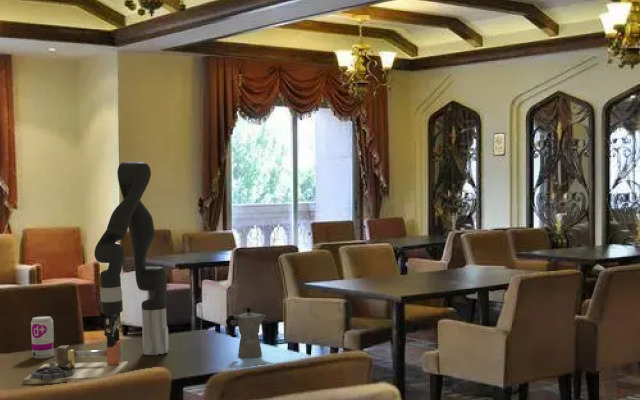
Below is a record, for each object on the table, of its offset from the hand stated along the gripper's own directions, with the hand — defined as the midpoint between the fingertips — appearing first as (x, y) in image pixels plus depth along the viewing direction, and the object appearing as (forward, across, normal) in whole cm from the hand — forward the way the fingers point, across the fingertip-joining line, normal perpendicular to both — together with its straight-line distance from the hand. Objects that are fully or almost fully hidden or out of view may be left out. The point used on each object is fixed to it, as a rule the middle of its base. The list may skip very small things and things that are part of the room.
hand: (113, 344), depth 316 cm
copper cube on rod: (+7, -1, +7) cm, 10 cm away
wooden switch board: (+8, -9, +11) cm, 16 cm away
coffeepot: (+9, +15, -46) cm, 49 cm away
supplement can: (+9, +24, +33) cm, 42 cm away
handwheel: (+6, -15, +17) cm, 24 cm away
